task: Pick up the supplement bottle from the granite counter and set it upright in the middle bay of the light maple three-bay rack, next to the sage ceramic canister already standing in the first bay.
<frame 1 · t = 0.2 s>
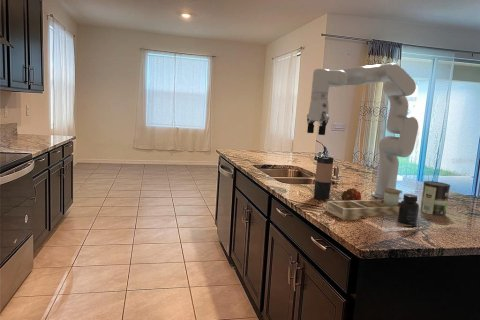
hand: (315, 133, 169), 31 cm above the worktop, tool pointing down, fingers open, 9 cm apart
dragon fruit: (350, 205, 167), on the worktop
rack: (368, 213, 154), on the worktop
supplement bottle: (406, 225, 141), on the worktop
coffee can: (432, 215, 160), on the worktop
travel mug: (321, 198, 176), on the worktop
canister: (389, 210, 158), point 1 cm above the worktop, touching rack
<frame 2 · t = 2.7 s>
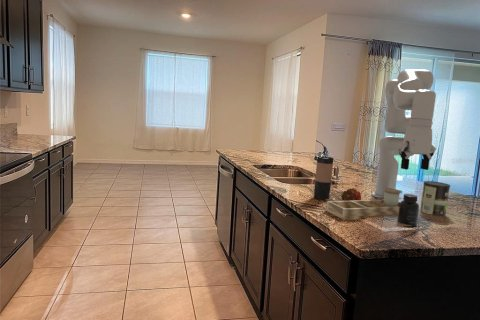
hand: (414, 169, 137), 22 cm above the worktop, tool pointing down, fingers open, 9 cm apart
nothing on the worktop moved.
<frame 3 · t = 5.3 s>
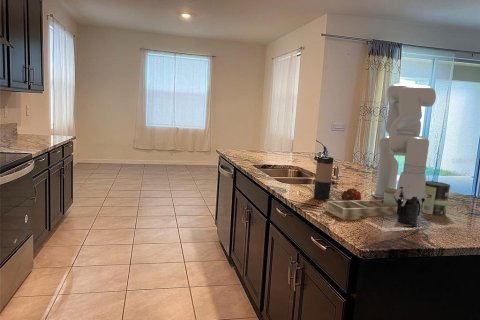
hand: (408, 214, 140), 4 cm above the worktop, tool pointing down, fingers closed on supplement bottle, 6 cm apart
supplement bottle: (406, 225, 141), on the worktop, touching gripper
everything else where it was.
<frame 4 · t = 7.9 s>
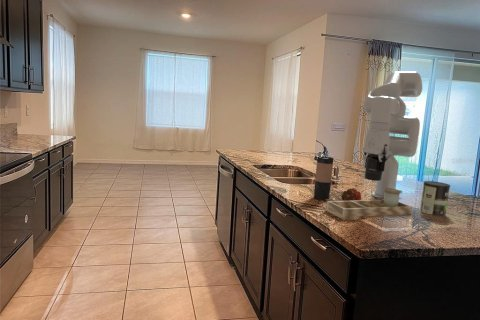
hand: (374, 169, 151), 19 cm above the worktop, tool pointing down, fingers closed on supplement bottle, 6 cm apart
supplement bottle: (372, 179, 152), point 15 cm above the worktop, touching gripper
everything else where it was.
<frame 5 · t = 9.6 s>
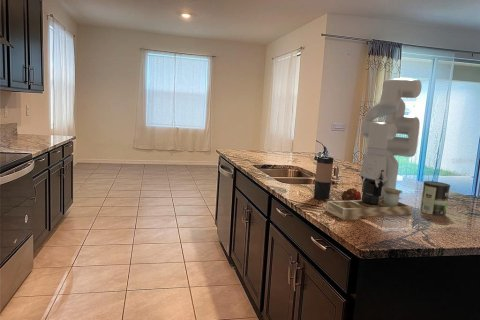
hand: (371, 193, 153), 9 cm above the worktop, tool pointing down, fingers closed on supplement bottle, 6 cm apart
supplement bottle: (369, 203, 153), point 4 cm above the worktop, touching gripper
everything else where it was.
when the fingers open (7 cm above the worktop, at t = 10.9 s): supplement bottle drops 2 cm, resting on rack.
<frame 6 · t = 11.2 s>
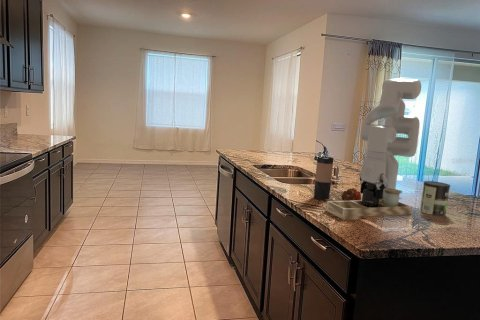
hand: (370, 195, 153), 8 cm above the worktop, tool pointing down, fingers open, 9 cm apart
supplement bottle: (368, 211, 154), point 1 cm above the worktop, touching rack
everything else where it was.
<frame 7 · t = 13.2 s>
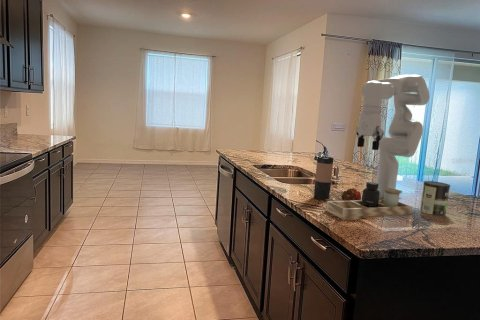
hand: (367, 148, 164), 26 cm above the worktop, tool pointing down, fingers open, 9 cm apart
nothing on the worktop moved.
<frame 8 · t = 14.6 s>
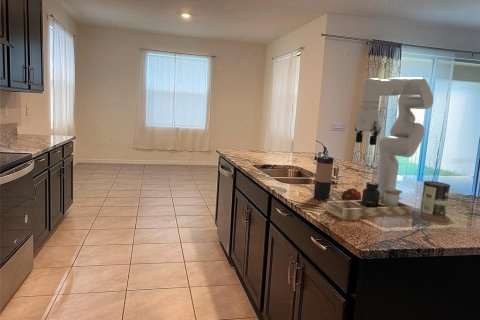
hand: (365, 143, 167), 28 cm above the worktop, tool pointing down, fingers open, 9 cm apart
nothing on the worktop moved.
at the end: supplement bottle inside the target area on the rack (0.3 cm from its centre), point 1.0 cm above the rack's base; supplement bottle tilted 0°; canister moved 0.0 cm from its start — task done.
